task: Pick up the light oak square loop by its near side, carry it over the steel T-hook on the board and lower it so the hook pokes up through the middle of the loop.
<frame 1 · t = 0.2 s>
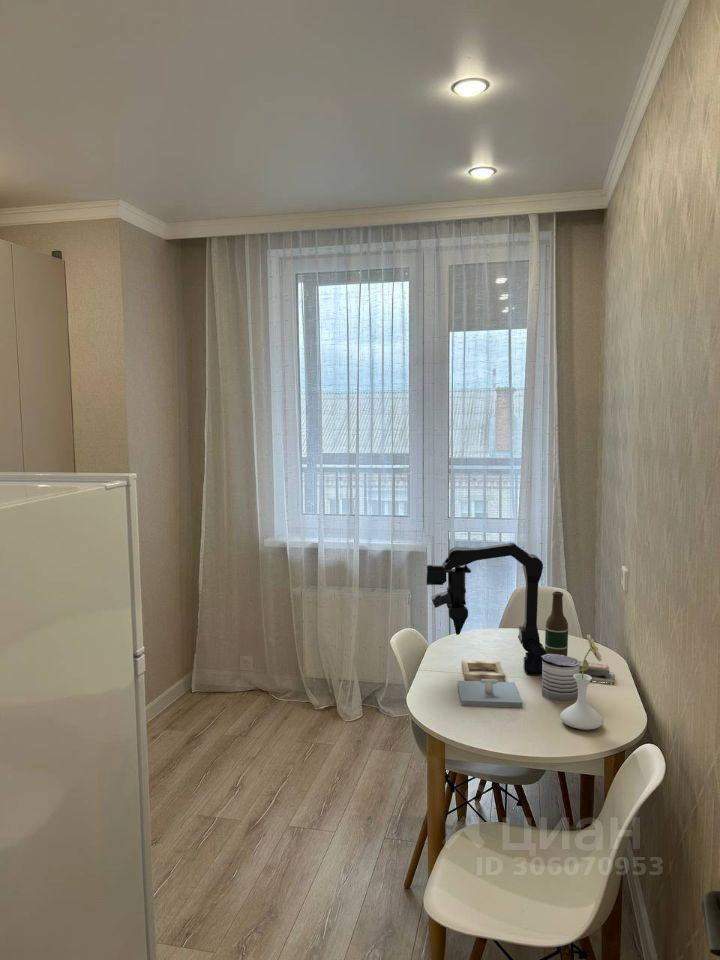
hand: (456, 630, 236), 14 cm above the table, tool pointing down, fingers open, 9 cm apart
oak loop: (482, 674, 232), on the table
flower in vase: (582, 724, 195), on the table
can: (559, 696, 215), on the table
hook board: (488, 697, 213), on the table
beer bottle: (555, 658, 249), on the table
packaged product: (584, 677, 232), on the table
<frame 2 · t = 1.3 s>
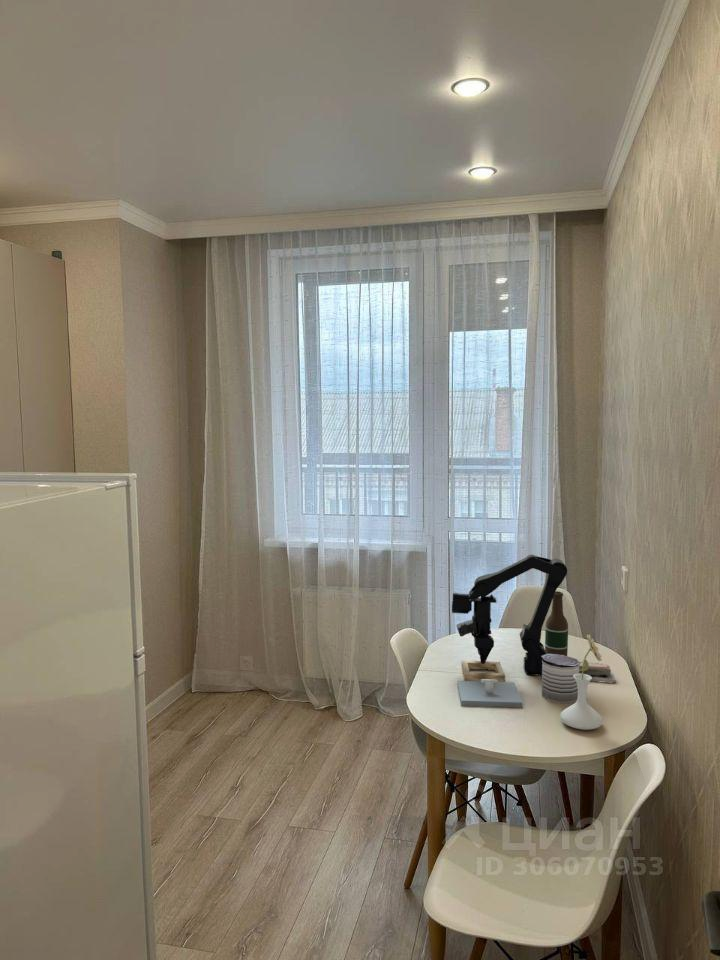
hand: (481, 659, 238), 3 cm above the table, tool pointing down, fingers open, 9 cm apart
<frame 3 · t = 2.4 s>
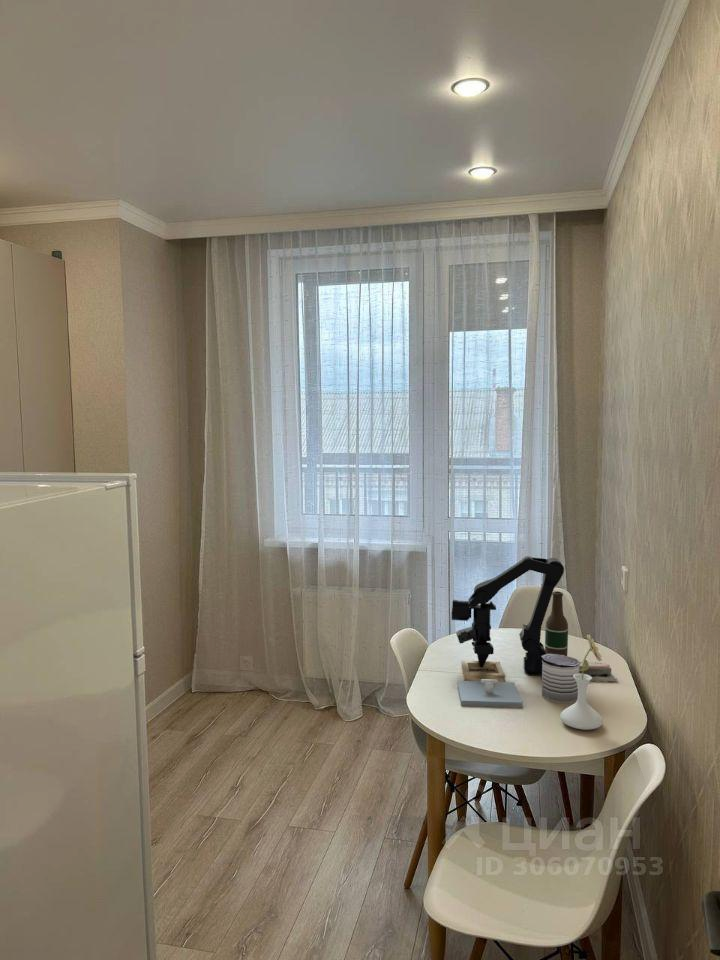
hand: (480, 666, 238), 1 cm above the table, tool pointing down, fingers closed on oak loop, 2 cm apart
oak loop: (482, 674, 232), on the table, touching gripper
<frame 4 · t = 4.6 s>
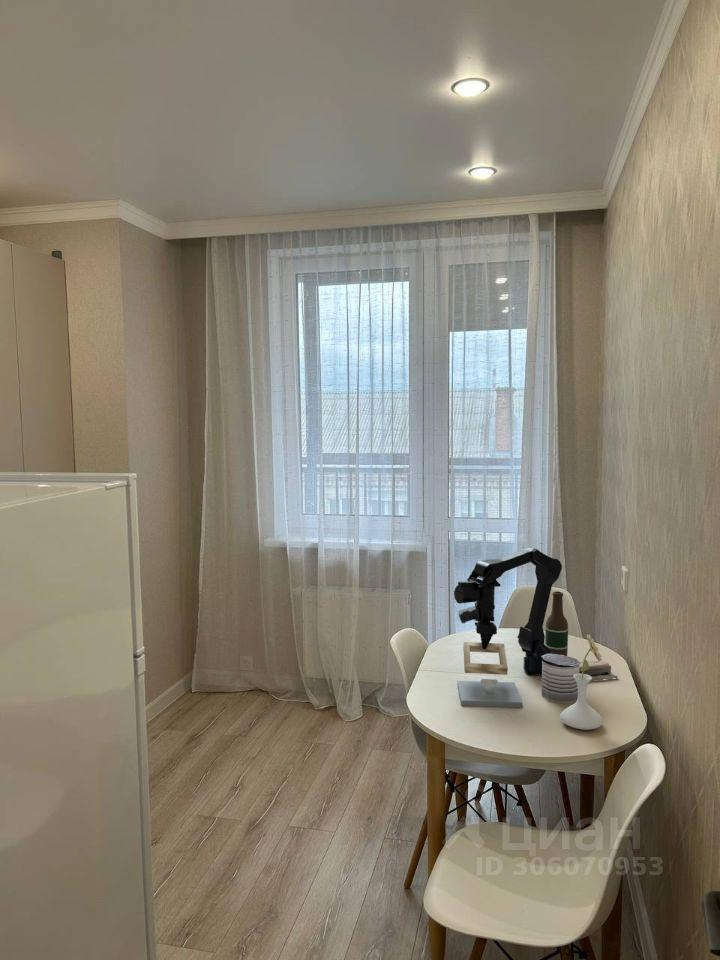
hand: (484, 647, 225), 11 cm above the table, tool pointing down, fingers closed on oak loop, 2 cm apart
oak loop: (484, 661, 221), point 8 cm above the table, tilted 17°, touching gripper
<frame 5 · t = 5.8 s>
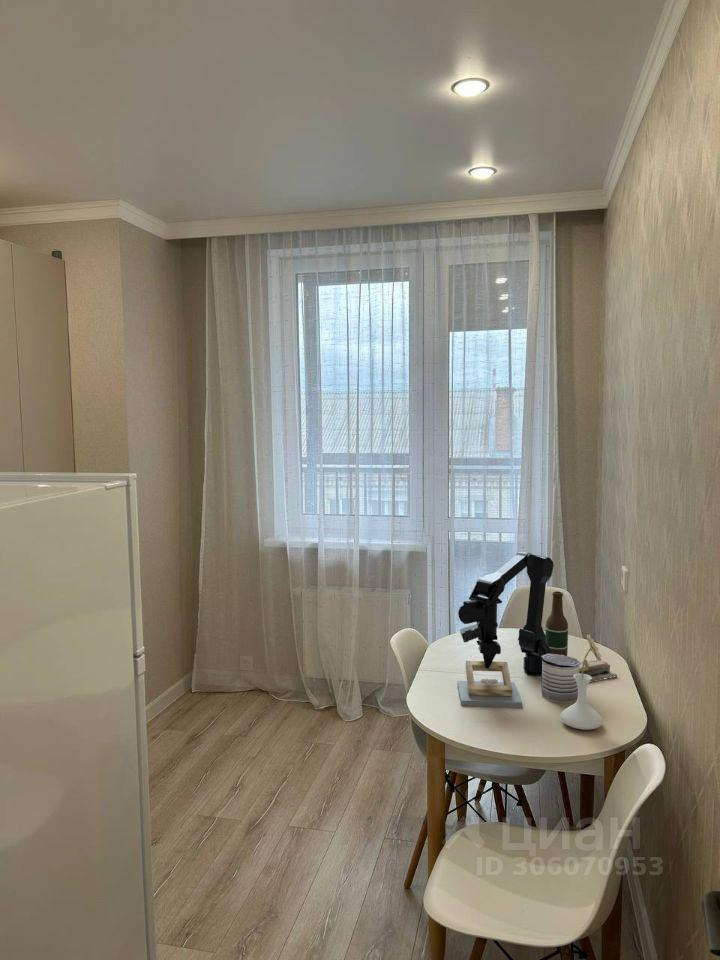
hand: (486, 666, 220), 7 cm above the table, tool pointing down, fingers closed on oak loop, 2 cm apart
oak loop: (488, 681, 216), point 4 cm above the table, tilted 19°, touching gripper
when the fingers open (3 cm above the table, at t = 6.9 s): oak loop stays where it is, resting on hook board.
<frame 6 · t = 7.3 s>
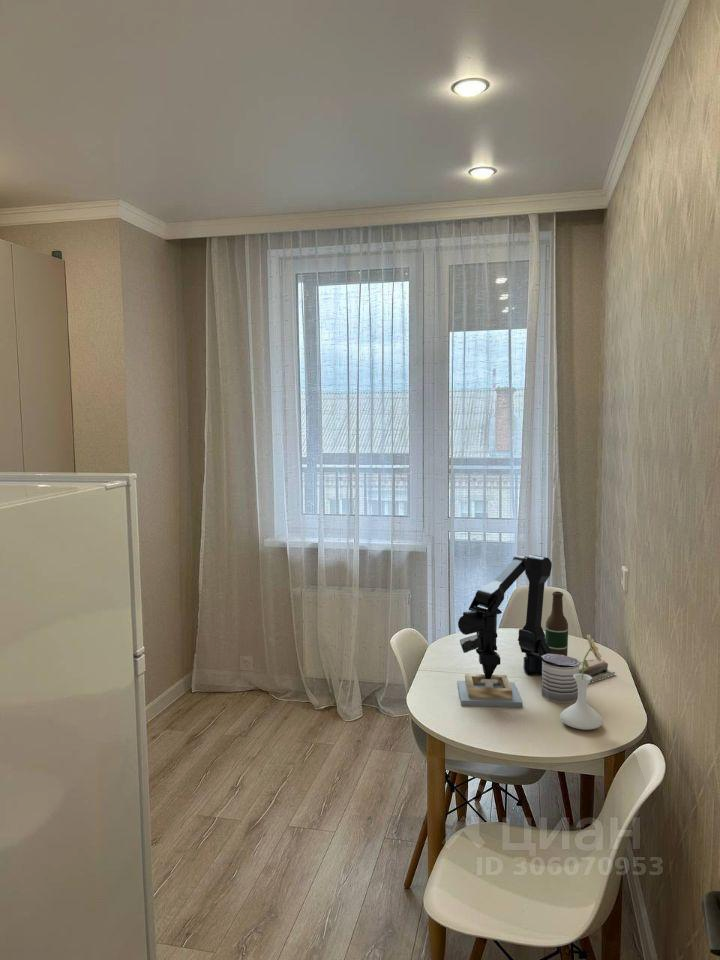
hand: (486, 677, 221), 3 cm above the table, tool pointing down, fingers open, 6 cm apart
oak loop: (487, 689, 216), point 1 cm above the table, touching hook board
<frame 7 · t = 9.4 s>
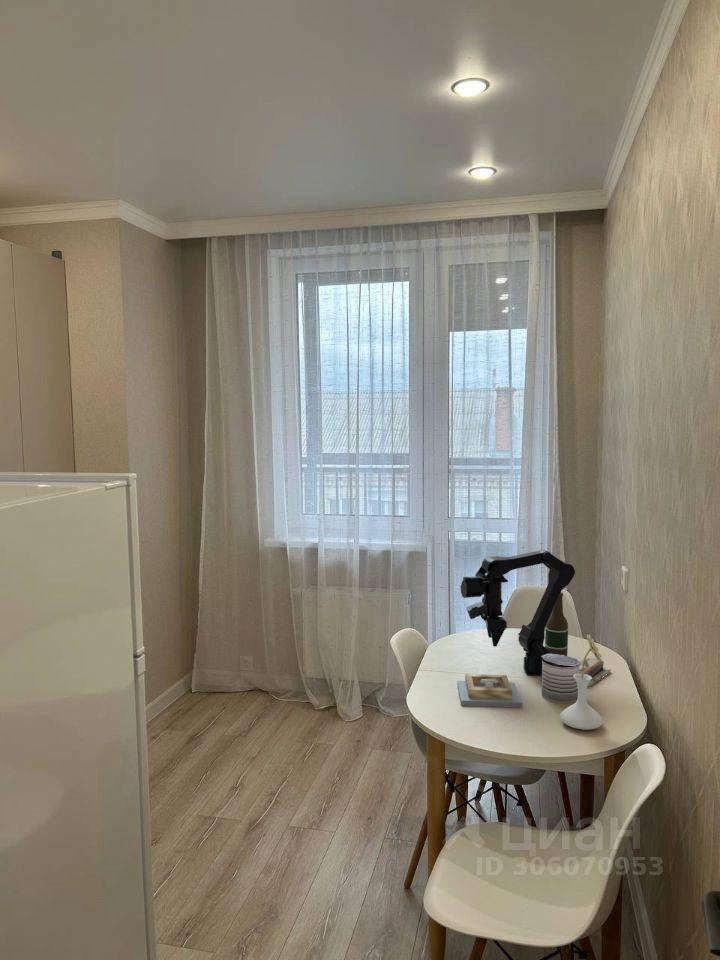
hand: (492, 641, 231), 11 cm above the table, tool pointing down, fingers open, 9 cm apart
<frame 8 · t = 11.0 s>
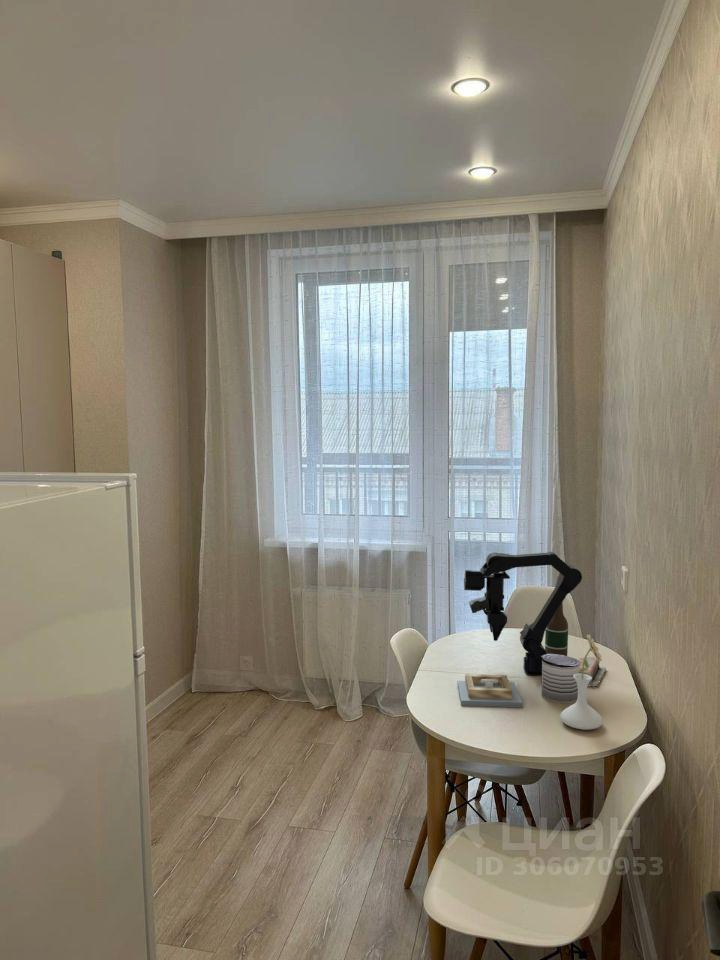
hand: (493, 636, 235), 12 cm above the table, tool pointing down, fingers open, 9 cm apart
at the end: oak loop 2.2 cm from the hook board (horizontally); oak loop point 1.5 cm above the table; the gripper is holding nothing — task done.
